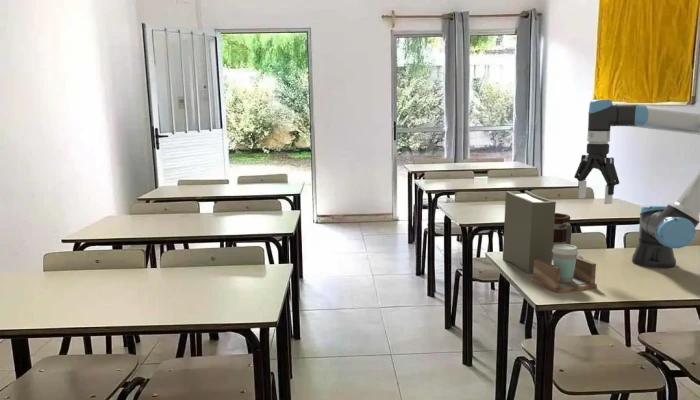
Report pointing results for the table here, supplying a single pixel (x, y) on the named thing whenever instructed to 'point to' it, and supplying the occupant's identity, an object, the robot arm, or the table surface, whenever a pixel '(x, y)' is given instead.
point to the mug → (562, 229)
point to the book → (528, 229)
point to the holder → (550, 276)
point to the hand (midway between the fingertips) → (594, 200)
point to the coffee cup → (565, 261)
